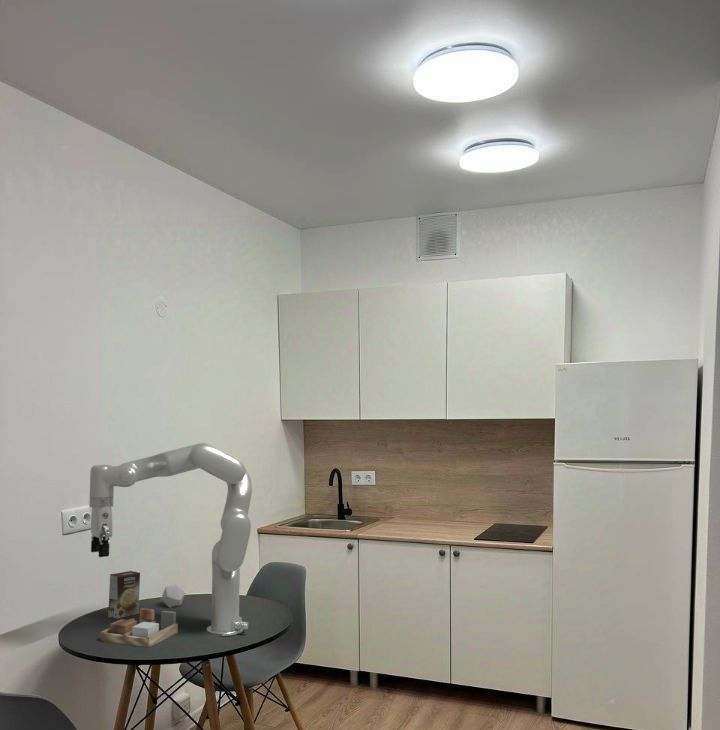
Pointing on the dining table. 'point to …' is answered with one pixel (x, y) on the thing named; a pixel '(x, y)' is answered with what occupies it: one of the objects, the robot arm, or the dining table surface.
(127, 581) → the coffee box
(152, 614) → the walnut block
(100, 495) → the robot arm
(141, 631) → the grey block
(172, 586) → the die
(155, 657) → the dining table surface
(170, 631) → the lane shelf
